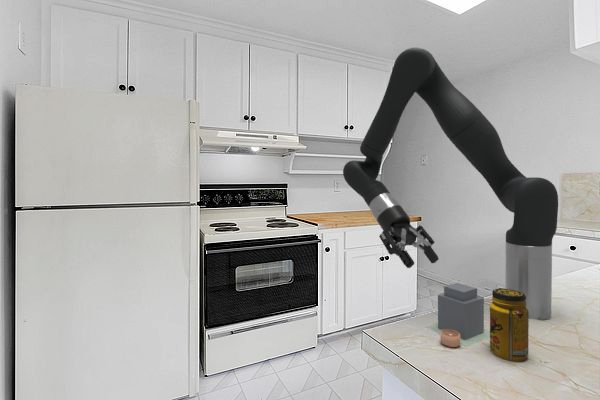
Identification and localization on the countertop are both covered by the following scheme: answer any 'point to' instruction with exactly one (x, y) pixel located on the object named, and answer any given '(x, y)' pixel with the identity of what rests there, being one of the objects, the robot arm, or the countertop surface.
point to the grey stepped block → (461, 310)
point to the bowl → (450, 337)
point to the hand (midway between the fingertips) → (423, 263)
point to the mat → (468, 341)
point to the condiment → (509, 325)
